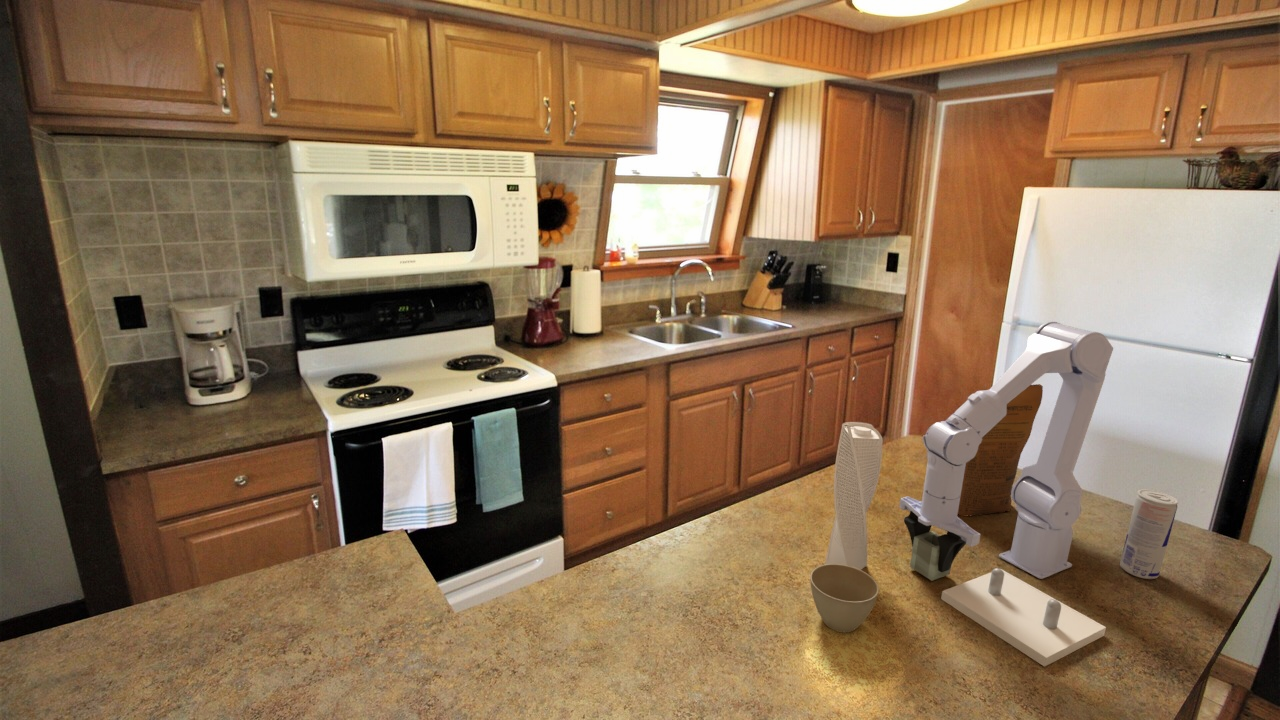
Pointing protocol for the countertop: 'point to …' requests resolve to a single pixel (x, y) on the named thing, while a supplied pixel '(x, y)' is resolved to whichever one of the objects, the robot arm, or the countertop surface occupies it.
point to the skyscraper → (854, 492)
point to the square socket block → (927, 556)
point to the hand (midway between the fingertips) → (930, 562)
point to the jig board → (1023, 616)
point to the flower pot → (843, 595)
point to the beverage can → (1148, 533)
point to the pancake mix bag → (999, 457)
